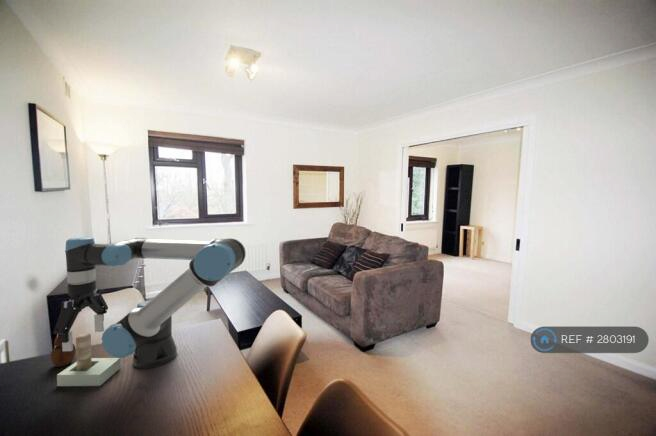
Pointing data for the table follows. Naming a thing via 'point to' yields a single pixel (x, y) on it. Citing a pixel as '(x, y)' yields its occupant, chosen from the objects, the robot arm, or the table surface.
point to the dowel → (83, 352)
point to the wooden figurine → (61, 354)
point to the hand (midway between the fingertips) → (84, 340)
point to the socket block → (89, 373)
